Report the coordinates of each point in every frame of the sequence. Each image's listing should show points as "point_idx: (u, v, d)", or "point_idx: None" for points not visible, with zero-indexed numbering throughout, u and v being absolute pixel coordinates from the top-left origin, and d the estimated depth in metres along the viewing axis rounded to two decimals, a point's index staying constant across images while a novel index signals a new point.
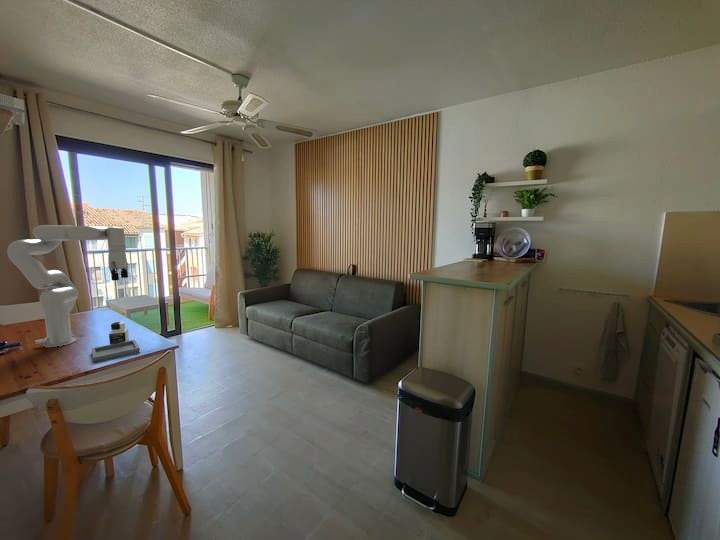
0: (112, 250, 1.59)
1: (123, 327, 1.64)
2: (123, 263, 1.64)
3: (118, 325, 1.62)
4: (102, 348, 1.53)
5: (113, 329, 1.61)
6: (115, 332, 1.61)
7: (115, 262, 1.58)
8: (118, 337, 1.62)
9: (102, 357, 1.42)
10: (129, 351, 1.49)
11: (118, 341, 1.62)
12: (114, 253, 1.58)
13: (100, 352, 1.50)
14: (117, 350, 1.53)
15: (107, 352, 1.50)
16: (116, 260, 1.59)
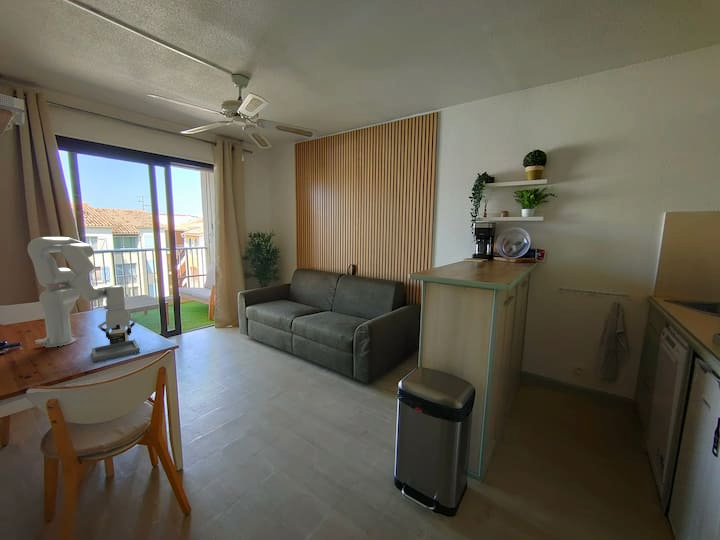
0: (124, 307, 1.65)
1: (123, 327, 1.64)
2: None
3: (118, 325, 1.62)
4: (102, 348, 1.53)
5: (113, 329, 1.61)
6: (115, 332, 1.61)
7: None
8: (118, 337, 1.62)
9: (102, 357, 1.42)
10: (129, 351, 1.49)
11: (118, 341, 1.62)
12: None
13: (100, 352, 1.50)
14: (117, 350, 1.53)
15: (107, 352, 1.50)
16: None
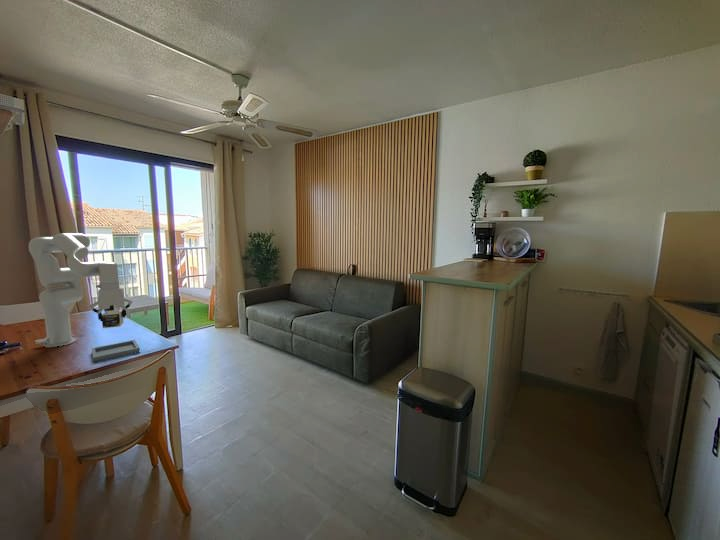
0: None
1: (117, 308, 1.50)
2: None
3: (112, 306, 1.47)
4: (102, 348, 1.53)
5: (106, 310, 1.47)
6: (108, 313, 1.47)
7: None
8: (112, 319, 1.47)
9: (102, 357, 1.42)
10: (129, 351, 1.49)
11: (112, 323, 1.47)
12: None
13: (100, 352, 1.50)
14: (117, 350, 1.53)
15: (107, 352, 1.50)
16: None
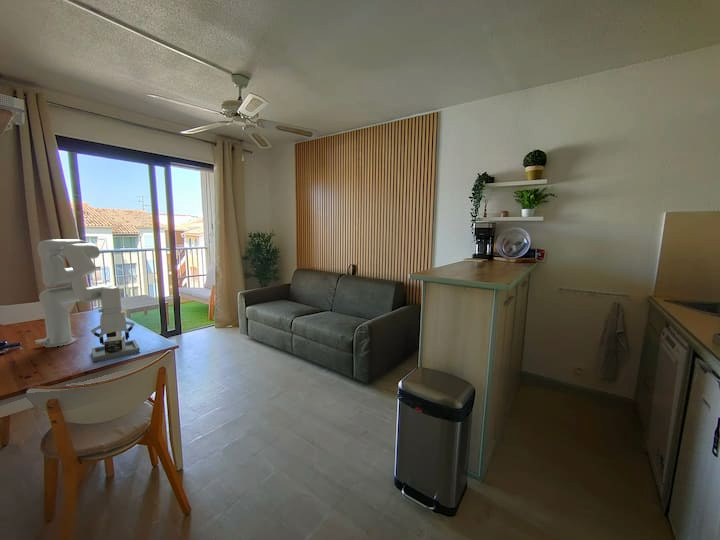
0: None
1: (119, 334, 1.51)
2: None
3: (114, 332, 1.48)
4: (102, 348, 1.53)
5: (108, 336, 1.48)
6: (111, 339, 1.48)
7: None
8: (114, 345, 1.48)
9: (102, 357, 1.42)
10: (129, 351, 1.49)
11: (114, 349, 1.49)
12: None
13: (100, 352, 1.50)
14: None
15: None
16: None
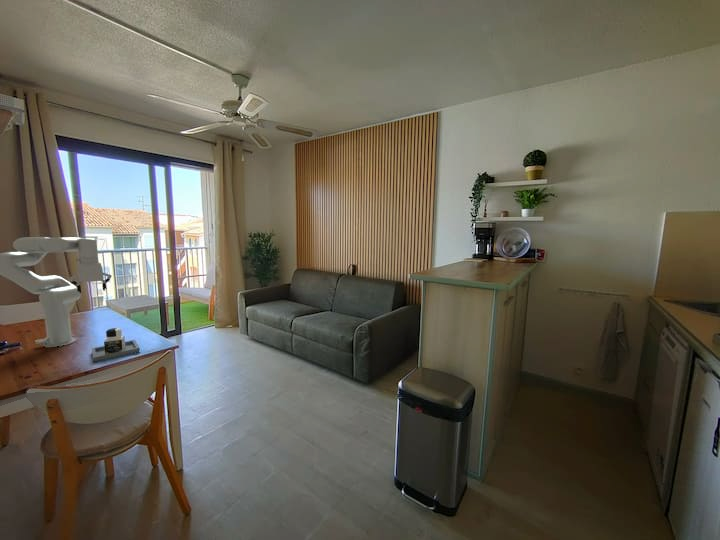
0: (98, 261, 1.59)
1: (119, 334, 1.51)
2: None
3: (114, 332, 1.48)
4: (102, 348, 1.53)
5: (108, 336, 1.48)
6: (111, 339, 1.48)
7: None
8: (114, 345, 1.48)
9: (102, 357, 1.42)
10: (129, 351, 1.49)
11: (114, 349, 1.49)
12: None
13: (100, 352, 1.50)
14: None
15: None
16: None
